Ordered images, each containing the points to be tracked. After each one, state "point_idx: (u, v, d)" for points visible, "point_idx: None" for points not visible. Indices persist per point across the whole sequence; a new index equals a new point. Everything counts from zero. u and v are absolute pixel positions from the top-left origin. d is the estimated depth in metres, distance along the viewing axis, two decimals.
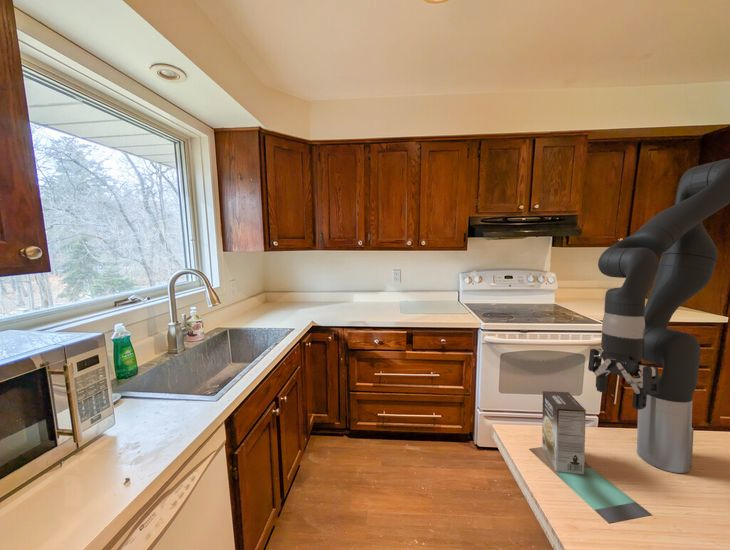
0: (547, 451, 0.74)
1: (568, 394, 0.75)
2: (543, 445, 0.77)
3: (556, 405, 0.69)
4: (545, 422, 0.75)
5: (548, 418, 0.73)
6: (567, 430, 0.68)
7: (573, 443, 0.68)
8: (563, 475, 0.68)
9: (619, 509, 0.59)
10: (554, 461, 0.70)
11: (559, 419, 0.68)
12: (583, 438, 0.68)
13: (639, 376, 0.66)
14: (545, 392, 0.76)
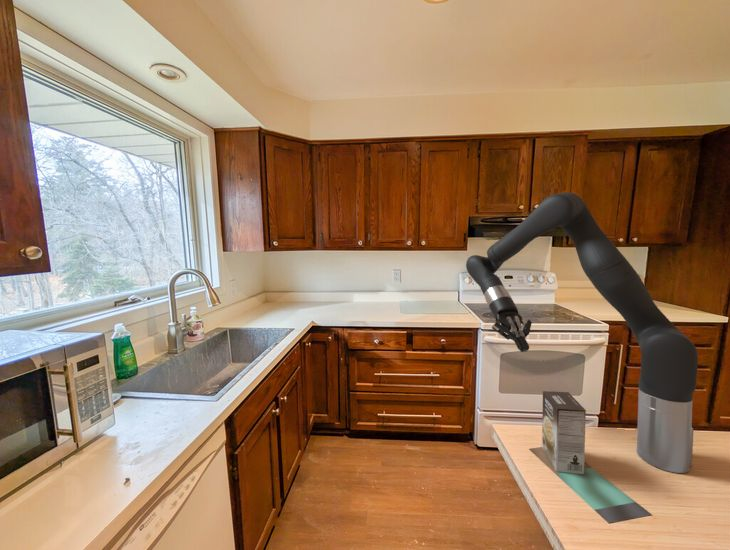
0: (547, 451, 0.74)
1: (568, 394, 0.75)
2: (543, 445, 0.77)
3: (556, 405, 0.69)
4: (545, 422, 0.75)
5: (548, 418, 0.73)
6: (567, 430, 0.68)
7: (573, 443, 0.68)
8: (563, 475, 0.68)
9: (619, 509, 0.59)
10: (554, 461, 0.70)
11: (560, 419, 0.68)
12: (583, 438, 0.68)
13: None
14: (545, 392, 0.76)
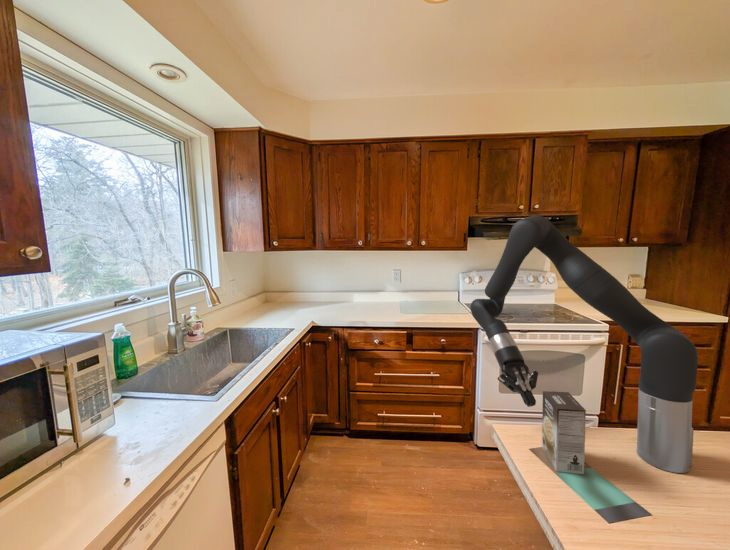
0: (547, 451, 0.74)
1: (568, 394, 0.75)
2: (543, 445, 0.77)
3: (556, 405, 0.69)
4: (545, 422, 0.75)
5: (548, 418, 0.73)
6: (567, 430, 0.68)
7: (573, 443, 0.68)
8: (563, 475, 0.68)
9: (619, 509, 0.59)
10: (554, 461, 0.70)
11: (560, 419, 0.68)
12: (583, 438, 0.68)
13: None
14: (545, 392, 0.76)
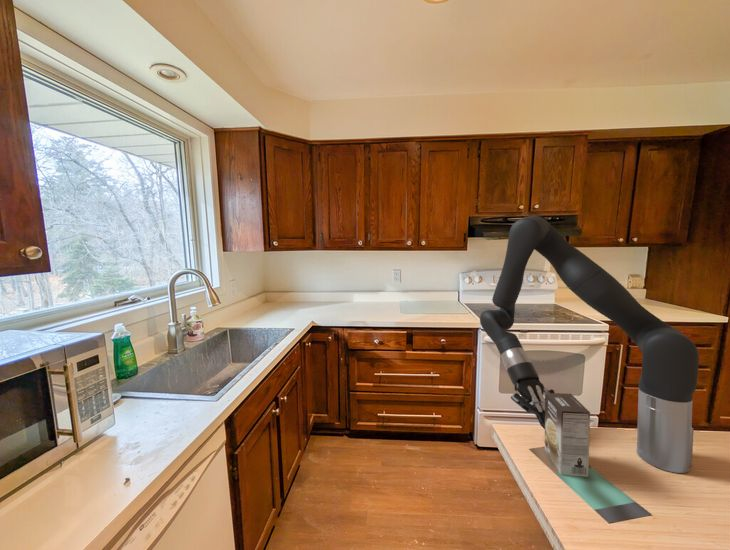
0: (550, 454, 0.73)
1: (571, 395, 0.74)
2: (546, 448, 0.76)
3: (560, 408, 0.68)
4: (548, 424, 0.74)
5: (551, 420, 0.72)
6: (571, 433, 0.67)
7: (577, 446, 0.67)
8: (563, 475, 0.68)
9: (619, 509, 0.59)
10: (558, 464, 0.69)
11: (564, 421, 0.67)
12: (587, 441, 0.67)
13: None
14: (548, 394, 0.75)
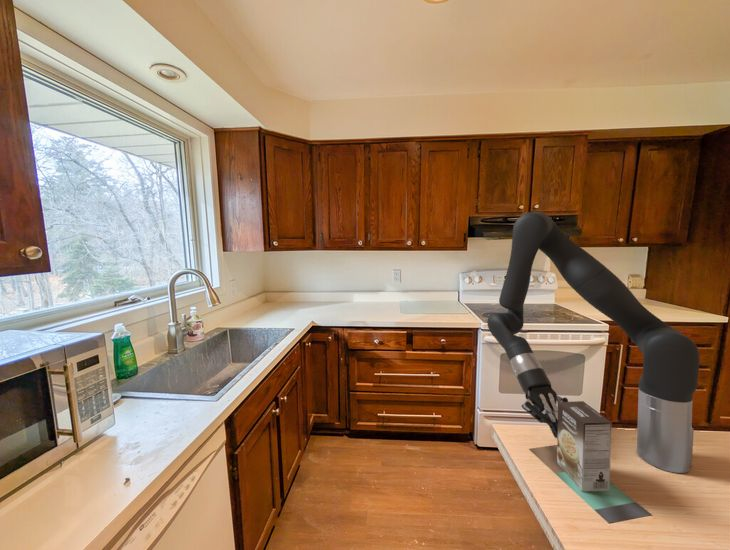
0: (566, 468, 0.68)
1: (584, 403, 0.70)
2: (559, 460, 0.71)
3: (580, 419, 0.63)
4: (563, 436, 0.69)
5: (568, 432, 0.67)
6: (593, 446, 0.63)
7: (599, 459, 0.63)
8: (563, 475, 0.68)
9: (619, 509, 0.59)
10: (579, 480, 0.64)
11: (586, 434, 0.62)
12: (608, 453, 0.63)
13: None
14: (561, 403, 0.70)
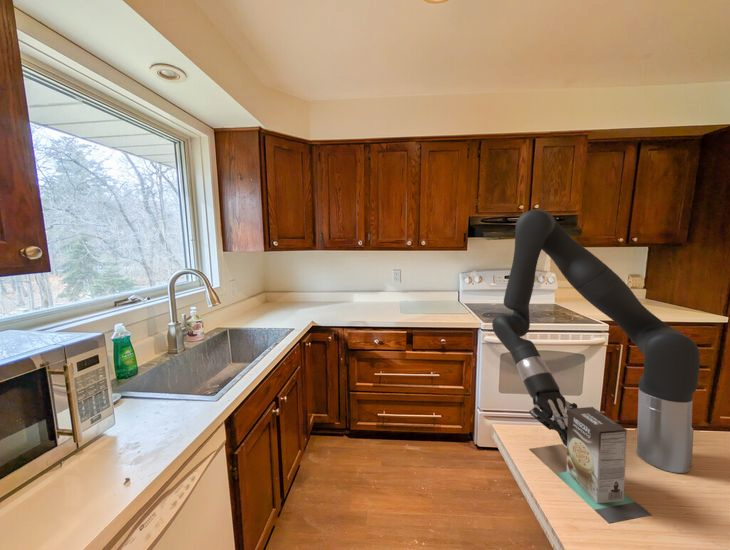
0: (578, 478, 0.65)
1: (594, 409, 0.67)
2: (569, 470, 0.68)
3: (595, 428, 0.60)
4: (574, 444, 0.66)
5: (581, 441, 0.64)
6: (609, 455, 0.60)
7: (614, 468, 0.60)
8: (563, 475, 0.68)
9: (619, 509, 0.59)
10: (593, 491, 0.61)
11: (602, 443, 0.59)
12: (623, 461, 0.60)
13: None
14: (571, 410, 0.67)
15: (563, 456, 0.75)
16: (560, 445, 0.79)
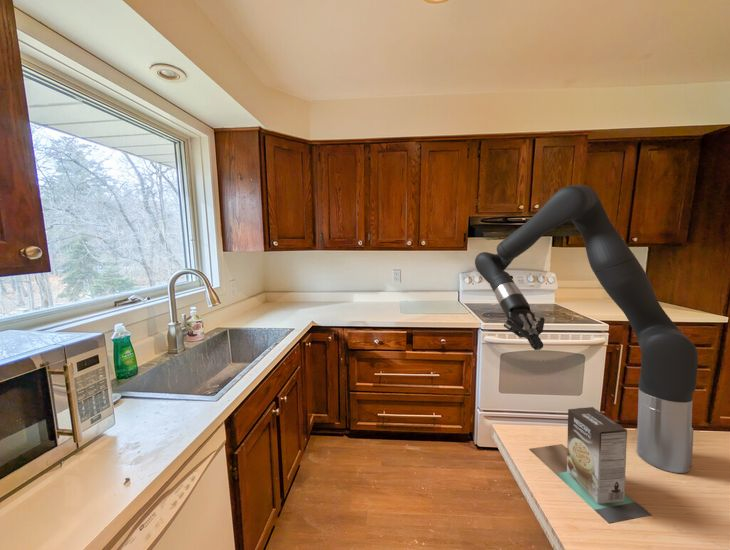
0: (578, 478, 0.65)
1: (594, 409, 0.67)
2: (569, 470, 0.68)
3: (596, 428, 0.60)
4: (575, 444, 0.66)
5: (581, 441, 0.64)
6: (609, 455, 0.60)
7: (615, 469, 0.60)
8: (563, 475, 0.68)
9: (619, 509, 0.59)
10: (594, 492, 0.61)
11: (602, 443, 0.59)
12: (624, 462, 0.60)
13: None
14: (571, 410, 0.67)
15: (563, 456, 0.75)
16: (560, 445, 0.79)
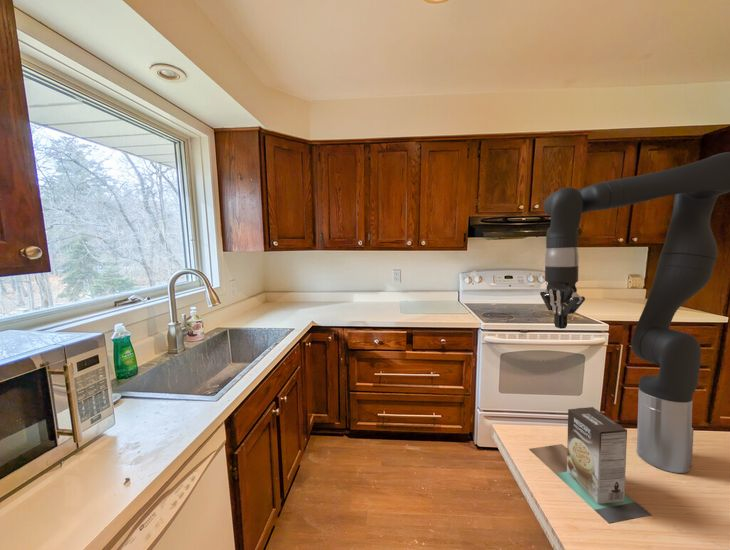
0: (578, 478, 0.65)
1: (594, 409, 0.67)
2: (569, 470, 0.68)
3: (596, 428, 0.60)
4: (575, 444, 0.66)
5: (581, 441, 0.64)
6: (609, 455, 0.60)
7: (615, 469, 0.60)
8: (563, 475, 0.68)
9: (619, 509, 0.59)
10: (594, 492, 0.61)
11: (602, 443, 0.59)
12: (624, 462, 0.60)
13: (569, 302, 0.78)
14: (572, 410, 0.67)
15: (563, 456, 0.75)
16: (560, 445, 0.79)
